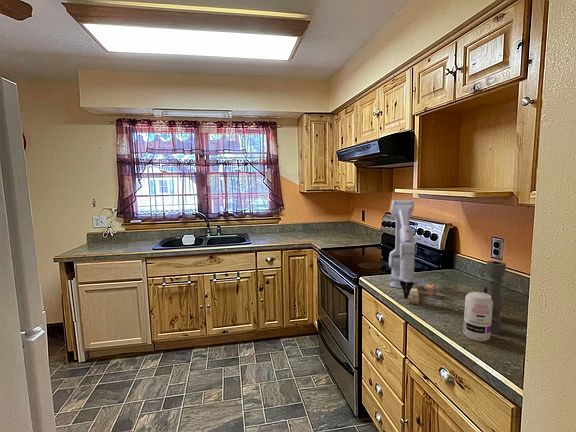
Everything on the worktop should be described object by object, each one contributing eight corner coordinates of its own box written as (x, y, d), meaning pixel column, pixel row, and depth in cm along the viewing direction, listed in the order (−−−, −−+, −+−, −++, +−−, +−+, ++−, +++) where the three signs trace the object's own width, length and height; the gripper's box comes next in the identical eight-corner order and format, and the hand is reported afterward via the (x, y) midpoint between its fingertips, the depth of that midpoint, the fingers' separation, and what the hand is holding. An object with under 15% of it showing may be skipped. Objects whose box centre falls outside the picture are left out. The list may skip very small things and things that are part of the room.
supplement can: (478, 329, 118) (480, 290, 116) (495, 341, 110) (499, 298, 108) (457, 331, 117) (460, 291, 115) (474, 343, 108) (477, 300, 107)
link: (407, 290, 157) (408, 284, 157) (417, 291, 156) (418, 285, 156) (409, 303, 142) (409, 296, 142) (420, 304, 141) (420, 297, 140)
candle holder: (478, 329, 118) (483, 262, 115) (485, 324, 122) (490, 259, 119) (497, 335, 114) (502, 266, 110) (504, 330, 117) (509, 263, 114)
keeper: (423, 297, 150) (424, 286, 149) (427, 293, 154) (427, 283, 154) (430, 298, 148) (431, 287, 147) (434, 294, 152) (434, 284, 152)
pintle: (409, 291, 157) (410, 280, 156) (417, 292, 155) (417, 281, 155) (408, 293, 154) (409, 282, 153) (416, 294, 152) (416, 283, 152)
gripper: (390, 269, 141) (389, 299, 142) (425, 272, 137) (424, 302, 138) (389, 265, 147) (388, 293, 149) (423, 267, 143) (422, 297, 145)
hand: (405, 297), depth 144 cm, fingers closed
